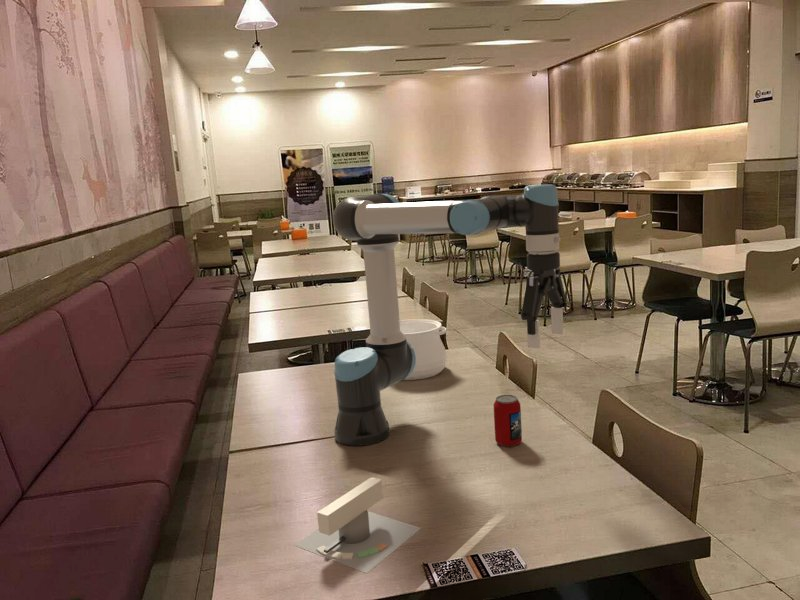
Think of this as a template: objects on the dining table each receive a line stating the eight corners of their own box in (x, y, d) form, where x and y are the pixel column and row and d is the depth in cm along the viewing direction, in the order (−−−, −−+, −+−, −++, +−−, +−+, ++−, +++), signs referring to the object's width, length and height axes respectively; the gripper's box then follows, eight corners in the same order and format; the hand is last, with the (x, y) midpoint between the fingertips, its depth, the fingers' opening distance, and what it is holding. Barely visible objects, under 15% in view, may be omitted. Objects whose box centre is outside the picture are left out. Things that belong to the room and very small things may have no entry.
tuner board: (294, 550, 126) (294, 543, 125) (352, 511, 139) (351, 504, 139) (367, 579, 115) (366, 571, 115) (422, 533, 128) (421, 526, 128)
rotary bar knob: (314, 551, 123) (309, 510, 121) (368, 513, 135) (365, 475, 134) (338, 560, 119) (333, 518, 118) (391, 520, 132) (388, 481, 130)
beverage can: (521, 448, 164) (519, 402, 161) (494, 448, 165) (492, 402, 163) (522, 437, 170) (520, 393, 168) (496, 437, 172) (493, 393, 169)
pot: (371, 383, 225) (367, 336, 222) (384, 363, 249) (381, 319, 246) (445, 381, 221) (442, 333, 218) (451, 361, 244) (449, 317, 241)
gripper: (535, 259, 140) (538, 355, 144) (578, 245, 160) (580, 329, 164) (503, 259, 144) (507, 352, 148) (549, 245, 164) (552, 327, 168)
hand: (546, 340), depth 156 cm, fingers open, 13 cm apart
